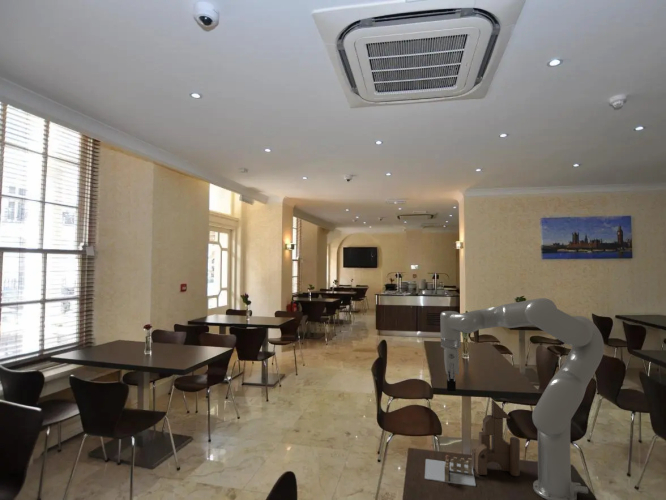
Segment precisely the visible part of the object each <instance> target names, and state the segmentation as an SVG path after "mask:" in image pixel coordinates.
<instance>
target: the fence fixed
mask: <svg viewBox="0 0 666 500" xmlns="http://www.w3.org/2000/svg"><path fill="white" fill-rule="evenodd" d="M450 462H451V463H453V466H451V470H453V472H454V473H457V470H459V471H461V474H465V471H466V472H468V475H472V457H468V458H467V460H465V458H464V457H460V459H458V457H456V456H453V458H450ZM457 464H461V467H458V466H457ZM464 465H468V468H466V467H464Z"/></svg>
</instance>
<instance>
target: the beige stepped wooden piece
mask: <svg viewBox="0 0 666 500" xmlns="http://www.w3.org/2000/svg"><path fill="white" fill-rule="evenodd" d="M450 457H451V456H450V455H448V454H446V455H445V462H446V463H445V481H446V482H445V483H448V477H449V471H450V462H451V458H450Z"/></svg>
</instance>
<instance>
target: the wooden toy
mask: <svg viewBox="0 0 666 500" xmlns="http://www.w3.org/2000/svg"><path fill="white" fill-rule="evenodd" d="M490 413H491V414H487V415H485V417H484V418H483V419H482V431H478V447H477V448H473V447H472V448H471V458H472V467H473V471H474V470H475V472H476V474H477V475H479V476H481V475H482V476H483V475H484V476H487V475H488V464H489V463H496V464H497V465H498V467H499V469H500V470H501V471H503V472H509V474H510V475H511V476H513V477H519V476H520V468H521V467H520V466H521V465H520V464H521V461H520V460H521V459H520V458H521V457H520V453H521V451H520V449H521V443H520V442H521V441H520V440H521V439H520V438H518V437H516V436H511V437H510V438H509V441H506V440H505V439H504V419H511V417H510V415H508V414H507V412H505V411H504V409H503V408H501V406H500V405H499V404H497V402H496V401H495V400H494V399H492V400H491V412H490Z"/></svg>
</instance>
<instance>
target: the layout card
mask: <svg viewBox="0 0 666 500" xmlns="http://www.w3.org/2000/svg"><path fill="white" fill-rule="evenodd" d="M445 463H446V460H445V461H444V460H437V459H431V458H430V459H429V458H426V459H425V466H424V480H429V481H435V482H442V483H449V484H454V485H455V484H456V485H463V486H464V485H465V486H469V487H477V486H476V485H477V484H476V479H475V474H474V468H473V467H472V475H468V472H466V471H465V474H461V471H459V470H457V473H454V472H453V470H451V466H453V463H451V461H450V471H449V477H448V482H446V481H445ZM457 466H458V467H461V464H457ZM464 467H466V468H468V465H464Z"/></svg>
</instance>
